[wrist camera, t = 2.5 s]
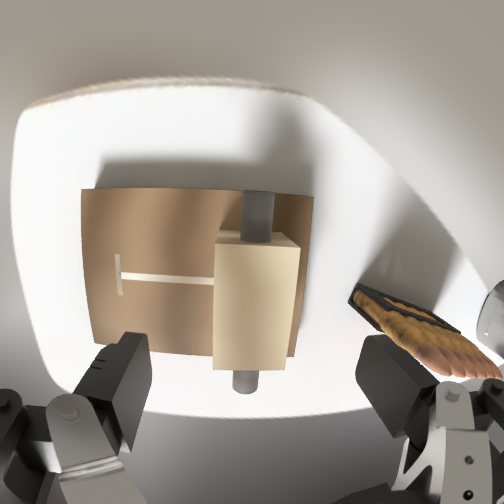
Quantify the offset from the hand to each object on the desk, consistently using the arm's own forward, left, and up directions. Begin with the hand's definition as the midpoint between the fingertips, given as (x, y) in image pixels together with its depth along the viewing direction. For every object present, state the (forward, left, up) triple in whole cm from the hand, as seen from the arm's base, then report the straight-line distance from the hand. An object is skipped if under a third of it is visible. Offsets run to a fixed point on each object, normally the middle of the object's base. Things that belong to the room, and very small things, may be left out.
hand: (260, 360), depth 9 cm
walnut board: (+4, 0, -11) cm, 12 cm away
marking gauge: (0, 0, -9) cm, 9 cm away
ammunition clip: (-14, +3, -12) cm, 19 cm away
